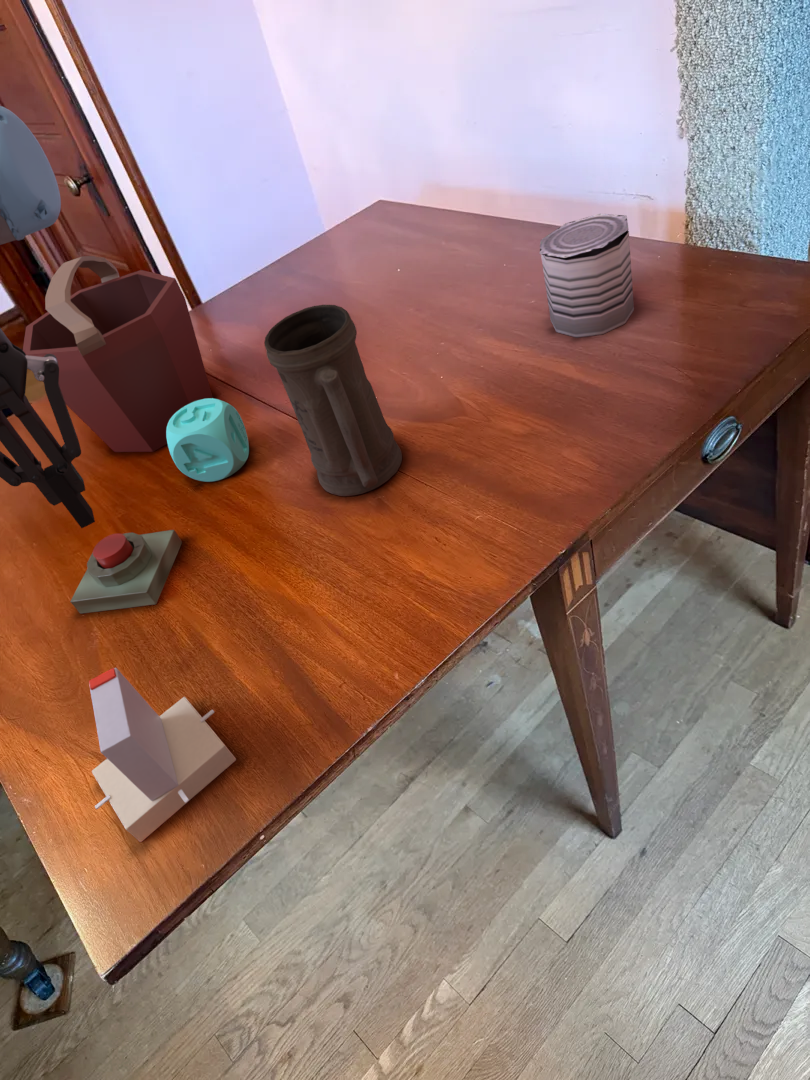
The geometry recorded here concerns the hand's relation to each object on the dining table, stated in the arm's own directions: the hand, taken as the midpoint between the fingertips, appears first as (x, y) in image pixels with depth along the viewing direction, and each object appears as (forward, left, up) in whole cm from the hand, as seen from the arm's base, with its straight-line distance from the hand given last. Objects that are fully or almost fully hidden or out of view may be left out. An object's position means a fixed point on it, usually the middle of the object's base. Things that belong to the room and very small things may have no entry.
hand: (86, 518), depth 79 cm
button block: (+2, +2, -11) cm, 12 cm away
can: (+42, -55, -12) cm, 70 cm away
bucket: (+36, +11, -12) cm, 40 cm away
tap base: (-24, -12, -11) cm, 29 cm away
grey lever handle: (-24, -12, -9) cm, 28 cm away
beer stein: (+14, -26, -12) cm, 32 cm away
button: (+2, +2, -8) cm, 8 cm away
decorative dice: (+22, -4, -12) cm, 25 cm away
